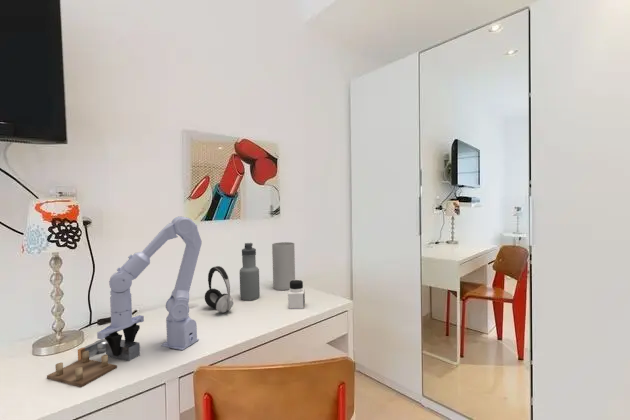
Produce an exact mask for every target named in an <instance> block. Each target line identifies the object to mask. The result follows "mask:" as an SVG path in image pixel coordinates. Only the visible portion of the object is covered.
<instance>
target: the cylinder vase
mask: <svg viewBox="0 0 630 420" xmlns="http://www.w3.org/2000/svg"><path fill="white" fill-rule="evenodd" d="M271 244H272V245H271V248H272V249H271V250H272V251H271V254H272V282H273V283H272V286H273V289H274V290H277V291H289V290H290V281H292V280H296V264H295V263H296V258H295V255H296V254H295V243H294V242H289V241H288V242H287V241H285V242H273V243H271Z"/></svg>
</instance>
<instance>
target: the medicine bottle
mask: <svg viewBox="0 0 630 420" xmlns="http://www.w3.org/2000/svg"><path fill="white" fill-rule="evenodd" d="M303 283H304V281H302V280H300V279H295V280H292V281H290V290H288V293H287V302H288V303H287V304H288V305H287V307H288V309H289V310H290V309H291V310H292V309H305V305H306V298H305V296H306V295H305V293H306V292H305V289H304V287H303V286H304V285H303Z"/></svg>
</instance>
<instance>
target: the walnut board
mask: <svg viewBox="0 0 630 420" xmlns="http://www.w3.org/2000/svg"><path fill="white" fill-rule="evenodd" d="M82 356H83V359H81V360H79V361H78V360H77V361H75V362H73V363H71V364H69V365H67V366H64V363H63V362H58V363H56V364H55V371H53V372H52V373H50V374H48V375H46V379H48V380H52V381H56V382H58V383H63V384H68V385H71V386H74V387H79V388H84V387H85V386H87V385H88V384H89V385H90V384H91V383H92V382H95V381H97V380H98V379H100V378H102V377H103V376H105V375H107V374H109V373H111V372H112V371H114V370H116V369H117V368H118V365H117V364H112V363H109V357H108V355H106V354H103V355H101V357H100V358H101V361H99V360H95V359H90V358H89V351H84V352H83V353H82Z"/></svg>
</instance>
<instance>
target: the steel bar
mask: <svg viewBox="0 0 630 420" xmlns="http://www.w3.org/2000/svg"><path fill="white" fill-rule="evenodd" d="M140 352H141V347H140V342H137V341H134V342H133V341H128V340H125V339H122V338H121V343H120V355H119V356H114V355H113V353H112V350H111V347H110V345H109V344H108V343H106V352H105V355H108V358H112V359H118V360H121V361H122V360H123V361H127V362H130V361H132V360H134V359H136V358H138V357H140V356H141V353H140Z"/></svg>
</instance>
